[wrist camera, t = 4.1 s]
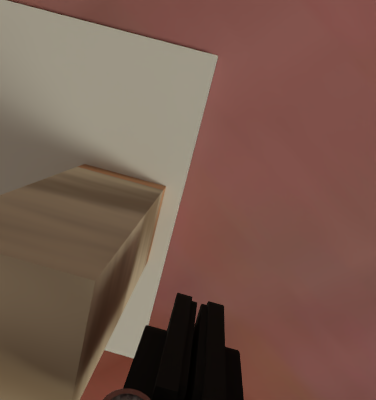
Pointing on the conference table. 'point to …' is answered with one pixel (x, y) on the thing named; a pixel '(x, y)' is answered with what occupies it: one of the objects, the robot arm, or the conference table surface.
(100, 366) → the conference table surface
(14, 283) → the maple block
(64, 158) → the mat
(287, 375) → the conference table surface
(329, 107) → the conference table surface
